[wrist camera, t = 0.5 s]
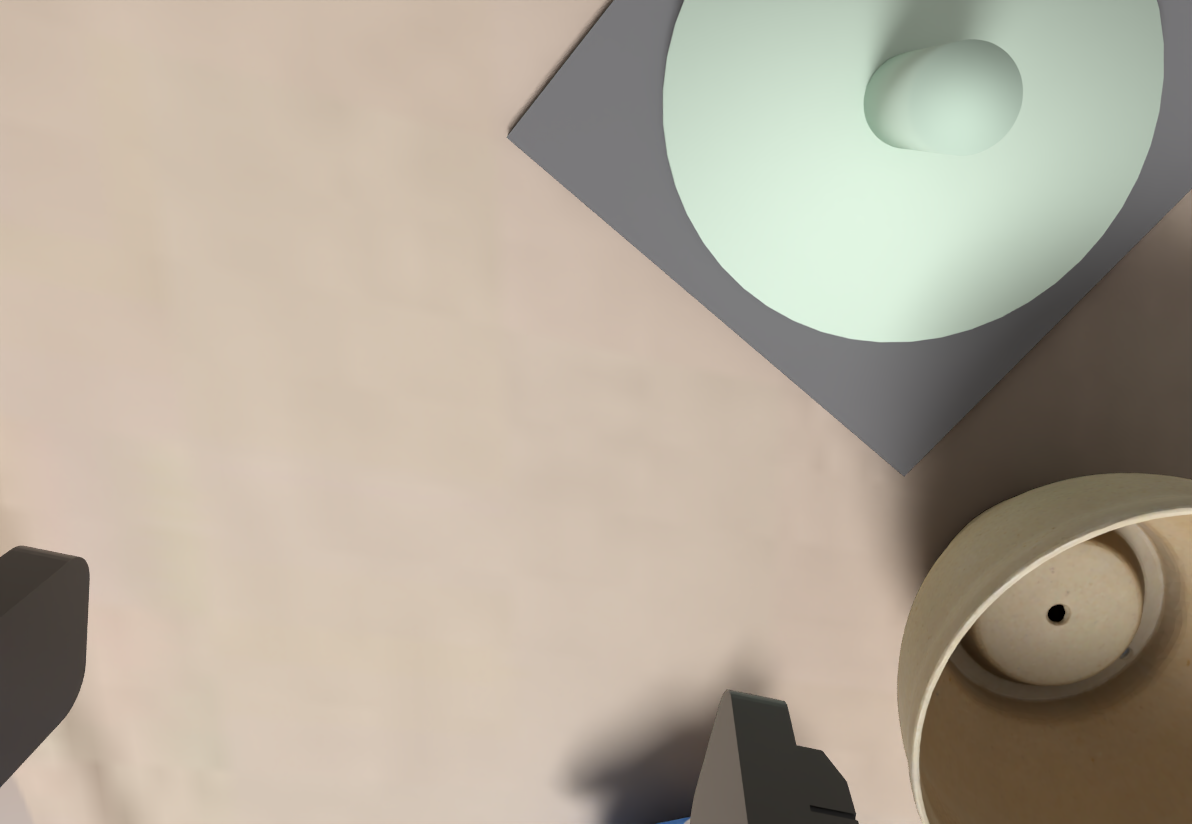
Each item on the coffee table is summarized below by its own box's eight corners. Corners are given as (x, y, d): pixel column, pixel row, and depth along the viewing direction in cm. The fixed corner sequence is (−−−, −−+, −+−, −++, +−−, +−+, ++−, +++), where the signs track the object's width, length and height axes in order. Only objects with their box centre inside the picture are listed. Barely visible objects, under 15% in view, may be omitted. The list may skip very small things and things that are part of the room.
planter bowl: (1277, 402, 39) (1515, 508, 28) (1210, 764, 43) (1393, 969, 33) (855, 403, 39) (937, 507, 29) (832, 760, 44) (896, 962, 34)
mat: (898, -362, 32) (901, -368, 32) (1309, 63, 35) (1317, 63, 35) (507, 137, 37) (506, 137, 37) (901, 473, 40) (904, 476, 40)
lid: (901, -290, 32) (973, -395, 26) (1253, 69, 35) (1400, 58, 28) (565, 131, 36) (550, 136, 30) (903, 424, 39) (961, 489, 32)
